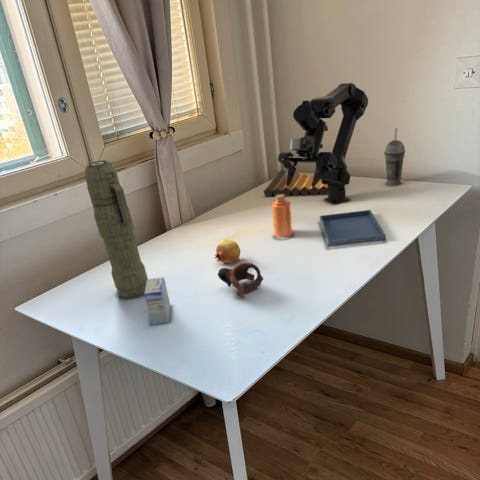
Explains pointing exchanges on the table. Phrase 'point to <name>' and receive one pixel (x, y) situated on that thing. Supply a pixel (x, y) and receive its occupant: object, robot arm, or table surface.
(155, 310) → the medicine box
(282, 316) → the table surface
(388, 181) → the beverage cup
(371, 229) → the blue rectangular tray
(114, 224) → the thermos
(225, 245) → the fruit
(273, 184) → the pan flute
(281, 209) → the orange bottle
